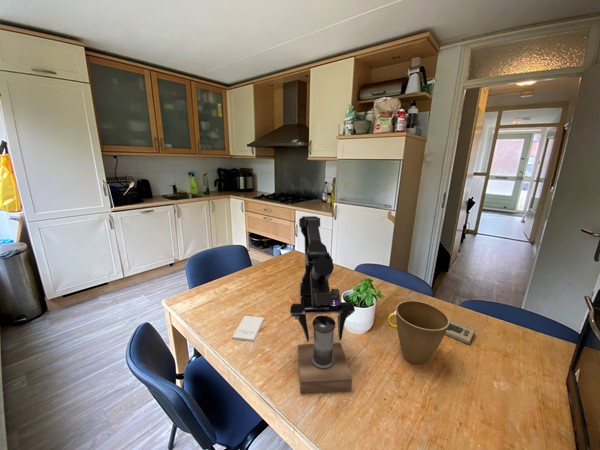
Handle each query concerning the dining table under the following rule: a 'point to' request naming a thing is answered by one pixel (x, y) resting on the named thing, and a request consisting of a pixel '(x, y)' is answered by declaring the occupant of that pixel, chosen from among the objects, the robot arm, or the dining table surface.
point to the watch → (389, 319)
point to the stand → (323, 372)
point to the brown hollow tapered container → (420, 330)
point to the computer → (460, 332)
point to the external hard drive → (248, 328)
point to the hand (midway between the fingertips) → (324, 340)
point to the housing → (323, 342)
